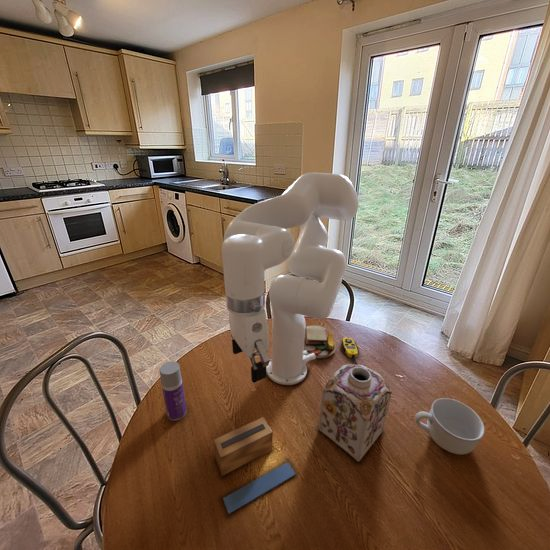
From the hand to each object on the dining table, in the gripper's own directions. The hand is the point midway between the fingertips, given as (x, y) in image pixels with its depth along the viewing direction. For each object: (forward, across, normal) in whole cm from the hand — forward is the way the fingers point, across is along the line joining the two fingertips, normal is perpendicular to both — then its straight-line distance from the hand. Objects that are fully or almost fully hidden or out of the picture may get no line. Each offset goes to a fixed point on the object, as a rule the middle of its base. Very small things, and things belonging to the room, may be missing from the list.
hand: (248, 364), depth 64 cm
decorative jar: (+20, -14, -20) cm, 31 cm away
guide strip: (+18, -14, +5) cm, 24 cm away
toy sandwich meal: (+21, +16, -32) cm, 42 cm away
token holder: (+19, -6, +5) cm, 20 cm away
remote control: (+21, +7, -40) cm, 46 cm away
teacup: (+20, -26, -38) cm, 50 cm away
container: (+19, +12, +16) cm, 27 cm away
